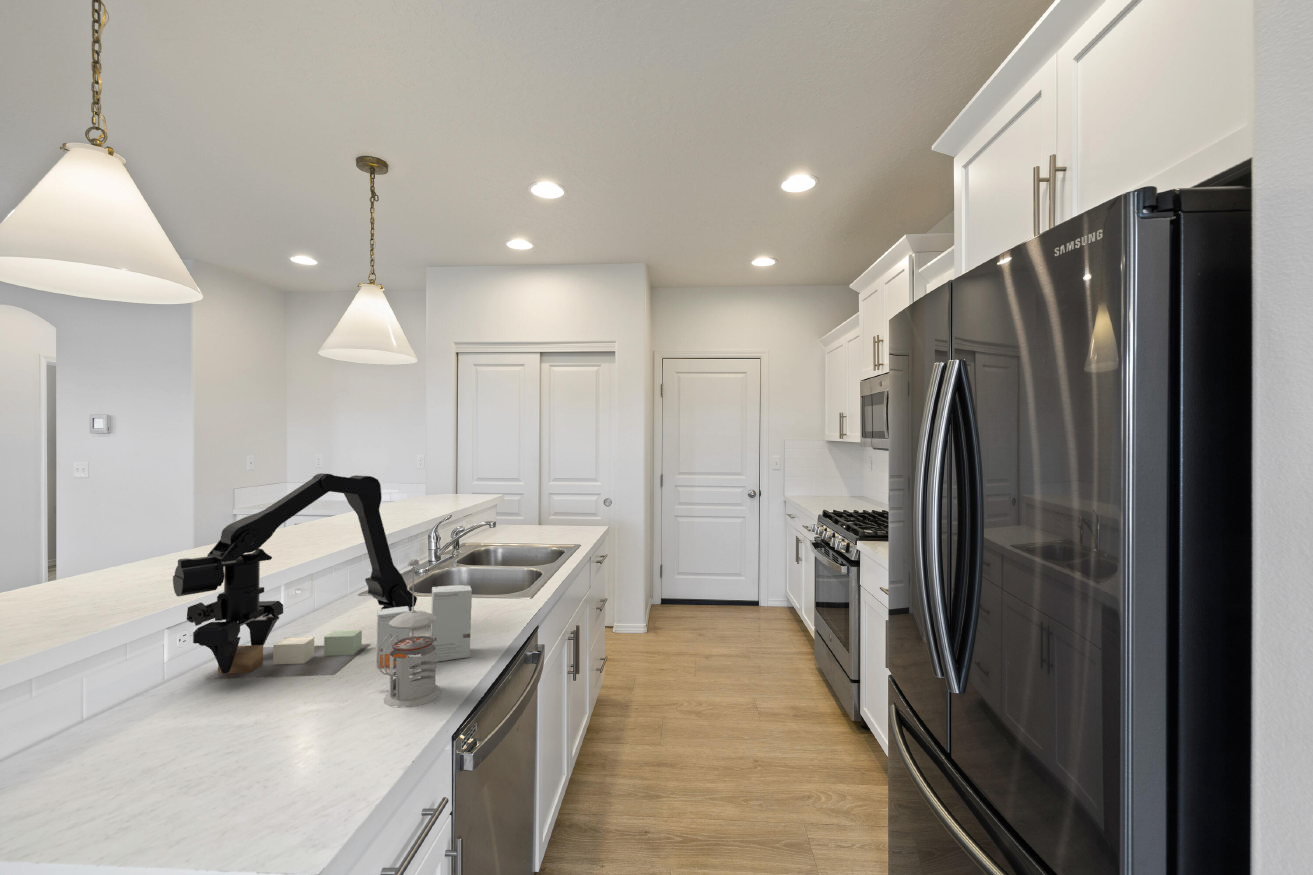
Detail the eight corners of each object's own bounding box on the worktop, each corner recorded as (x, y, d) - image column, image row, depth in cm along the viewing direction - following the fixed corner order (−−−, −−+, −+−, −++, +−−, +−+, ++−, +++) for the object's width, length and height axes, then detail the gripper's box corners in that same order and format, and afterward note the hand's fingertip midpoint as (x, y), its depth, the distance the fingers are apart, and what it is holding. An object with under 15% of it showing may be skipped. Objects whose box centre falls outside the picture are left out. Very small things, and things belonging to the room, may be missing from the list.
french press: (452, 690, 105) (453, 556, 105) (398, 716, 95) (399, 568, 95) (417, 679, 110) (417, 552, 110) (361, 703, 99) (362, 563, 100)
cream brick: (314, 655, 119) (314, 637, 119) (304, 663, 115) (304, 643, 115) (284, 656, 118) (284, 638, 118) (273, 664, 114) (273, 644, 114)
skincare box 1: (376, 674, 112) (376, 614, 112) (376, 667, 116) (376, 609, 116) (409, 669, 115) (409, 610, 115) (408, 661, 119) (408, 605, 119)
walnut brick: (262, 664, 114) (263, 644, 114) (250, 672, 110) (250, 652, 110) (231, 665, 114) (232, 645, 114) (218, 673, 110) (218, 653, 110)
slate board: (371, 649, 126) (371, 643, 126) (334, 680, 109) (334, 674, 109) (258, 652, 124) (258, 647, 124) (203, 685, 107) (203, 679, 107)
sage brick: (361, 648, 124) (361, 629, 124) (353, 654, 120) (353, 635, 120) (333, 648, 123) (333, 630, 123) (324, 655, 119) (324, 636, 119)
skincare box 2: (430, 663, 118) (430, 592, 118) (429, 653, 123) (430, 586, 124) (472, 657, 121) (472, 588, 121) (469, 648, 127) (469, 582, 127)
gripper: (230, 575, 121) (230, 648, 121) (162, 599, 102) (161, 684, 102) (285, 574, 122) (284, 646, 122) (226, 597, 103) (225, 682, 103)
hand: (241, 663), depth 112 cm, fingers open, 9 cm apart
